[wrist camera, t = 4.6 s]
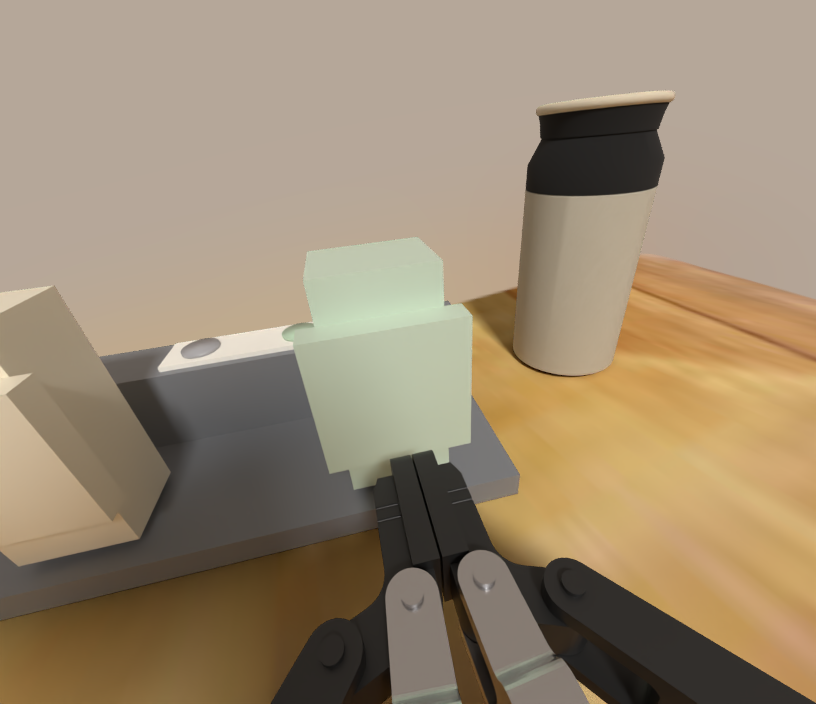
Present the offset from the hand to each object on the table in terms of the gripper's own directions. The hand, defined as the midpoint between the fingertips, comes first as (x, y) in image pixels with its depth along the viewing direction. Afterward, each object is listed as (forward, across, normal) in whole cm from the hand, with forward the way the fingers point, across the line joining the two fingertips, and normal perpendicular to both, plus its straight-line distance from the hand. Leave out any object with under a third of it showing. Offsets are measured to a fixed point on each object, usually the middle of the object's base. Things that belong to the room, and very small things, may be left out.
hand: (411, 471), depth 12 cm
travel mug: (+15, -16, +7) cm, 23 cm away
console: (+9, +8, +7) cm, 14 cm away
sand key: (+5, +15, +5) cm, 17 cm away
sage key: (+5, 0, +5) cm, 7 cm away
